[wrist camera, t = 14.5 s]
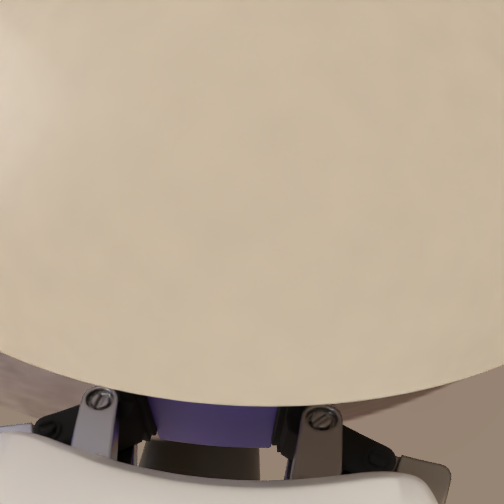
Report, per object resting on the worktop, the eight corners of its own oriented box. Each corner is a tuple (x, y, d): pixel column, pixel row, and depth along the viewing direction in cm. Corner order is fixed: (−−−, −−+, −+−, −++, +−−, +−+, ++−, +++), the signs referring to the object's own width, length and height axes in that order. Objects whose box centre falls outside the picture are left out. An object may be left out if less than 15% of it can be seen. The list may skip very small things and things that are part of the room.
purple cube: (266, 387, 12) (270, 448, 9) (175, 381, 12) (159, 439, 9) (275, 310, 11) (285, 372, 7) (165, 304, 11) (135, 360, 7)
